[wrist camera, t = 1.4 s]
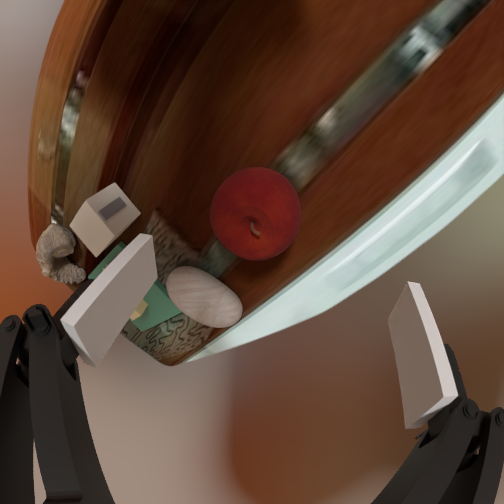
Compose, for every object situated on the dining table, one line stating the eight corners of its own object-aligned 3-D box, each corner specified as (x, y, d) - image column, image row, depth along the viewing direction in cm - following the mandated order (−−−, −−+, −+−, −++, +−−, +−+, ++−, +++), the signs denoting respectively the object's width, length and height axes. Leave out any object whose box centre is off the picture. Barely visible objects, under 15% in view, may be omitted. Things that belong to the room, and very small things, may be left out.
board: (90, 273, 48) (79, 286, 44) (121, 240, 42) (107, 253, 38) (144, 328, 53) (136, 342, 50) (185, 307, 47) (176, 323, 43)
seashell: (75, 204, 45) (31, 213, 36) (95, 238, 43) (46, 252, 34) (68, 252, 52) (31, 263, 43) (87, 285, 49) (47, 300, 41)
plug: (96, 205, 39) (69, 225, 33) (116, 180, 36) (86, 198, 30) (120, 234, 41) (96, 257, 35) (142, 212, 38) (116, 234, 32)
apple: (230, 227, 37) (206, 271, 28) (223, 157, 32) (191, 182, 23) (302, 229, 35) (299, 276, 27) (302, 156, 30) (300, 180, 22)
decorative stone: (164, 278, 44) (151, 297, 40) (191, 246, 40) (177, 265, 36) (223, 322, 47) (216, 343, 43) (256, 297, 43) (250, 320, 38)
